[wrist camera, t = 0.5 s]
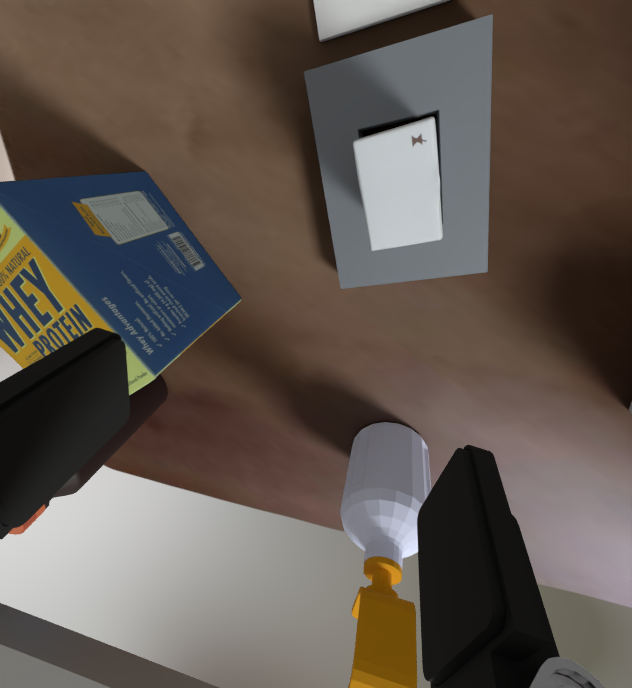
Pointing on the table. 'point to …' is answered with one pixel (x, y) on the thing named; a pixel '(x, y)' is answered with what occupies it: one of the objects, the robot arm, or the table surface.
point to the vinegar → (111, 441)
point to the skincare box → (400, 185)
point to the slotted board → (397, 106)
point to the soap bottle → (385, 548)
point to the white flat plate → (361, 14)
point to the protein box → (103, 270)
